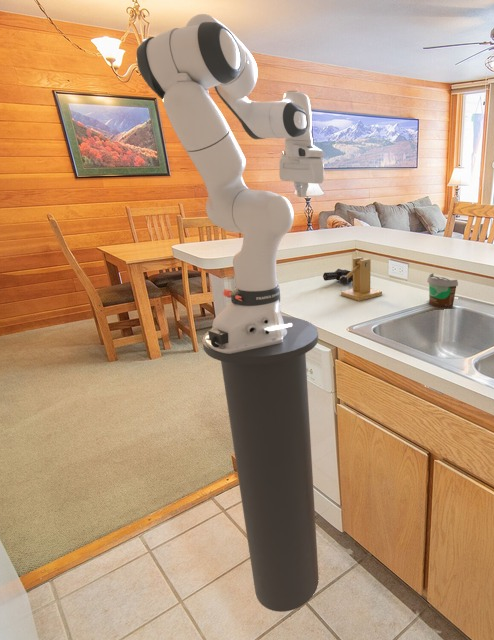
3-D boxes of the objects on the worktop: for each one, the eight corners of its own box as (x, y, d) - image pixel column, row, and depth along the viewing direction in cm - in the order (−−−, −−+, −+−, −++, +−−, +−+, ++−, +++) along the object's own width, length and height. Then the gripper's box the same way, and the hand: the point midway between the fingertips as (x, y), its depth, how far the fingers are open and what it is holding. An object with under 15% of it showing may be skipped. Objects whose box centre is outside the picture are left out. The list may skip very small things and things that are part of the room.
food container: (418, 302, 159) (420, 275, 155) (430, 299, 163) (432, 272, 159) (444, 311, 151) (446, 282, 147) (455, 307, 154) (458, 279, 150)
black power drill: (379, 272, 182) (354, 266, 191) (345, 275, 168) (319, 268, 177) (378, 285, 184) (353, 278, 193) (344, 289, 170) (319, 281, 179)
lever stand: (358, 301, 159) (358, 263, 153) (341, 295, 165) (340, 258, 159) (382, 294, 167) (382, 258, 161) (364, 289, 173) (364, 254, 167)
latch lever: (345, 287, 157) (341, 280, 155) (339, 285, 159) (336, 278, 157) (368, 265, 162) (365, 258, 159) (362, 264, 164) (359, 257, 161)
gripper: (273, 150, 145) (276, 195, 150) (310, 151, 132) (312, 199, 137) (289, 151, 149) (291, 194, 154) (326, 151, 136) (328, 198, 142)
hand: (301, 196), depth 146 cm, fingers closed
